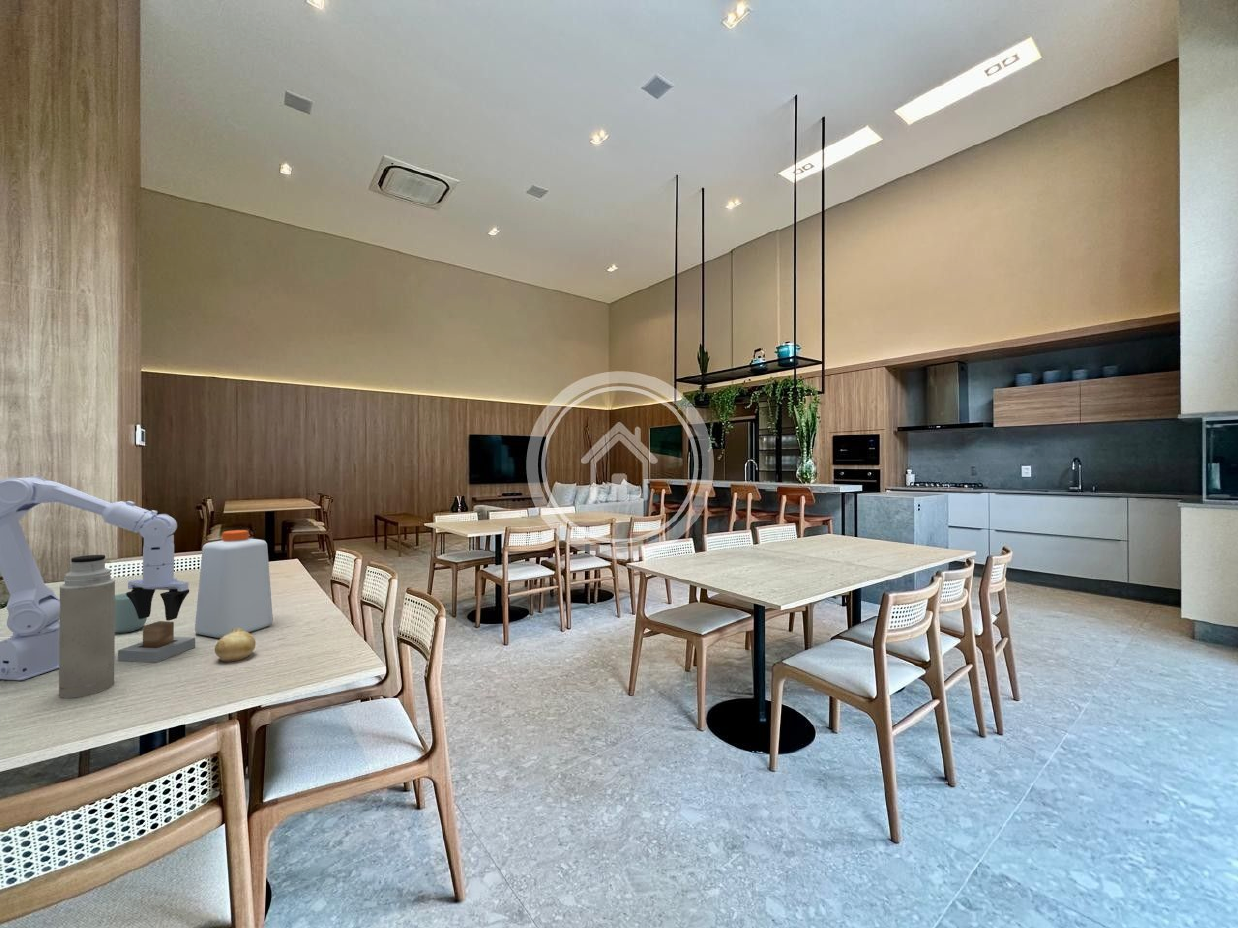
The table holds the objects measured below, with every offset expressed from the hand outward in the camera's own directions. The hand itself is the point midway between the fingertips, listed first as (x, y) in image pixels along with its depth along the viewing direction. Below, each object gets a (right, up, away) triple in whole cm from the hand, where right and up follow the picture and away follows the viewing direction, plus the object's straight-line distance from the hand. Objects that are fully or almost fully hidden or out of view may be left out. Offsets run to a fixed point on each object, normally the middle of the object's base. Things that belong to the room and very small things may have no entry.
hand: (157, 618), depth 124 cm
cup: (-23, -9, +16) cm, 30 cm away
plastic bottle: (+5, -9, +19) cm, 21 cm away
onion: (+21, -9, -2) cm, 23 cm away
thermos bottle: (+3, -9, -19) cm, 22 cm away
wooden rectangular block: (0, -8, 0) cm, 8 cm away
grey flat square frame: (0, -9, 0) cm, 9 cm away
